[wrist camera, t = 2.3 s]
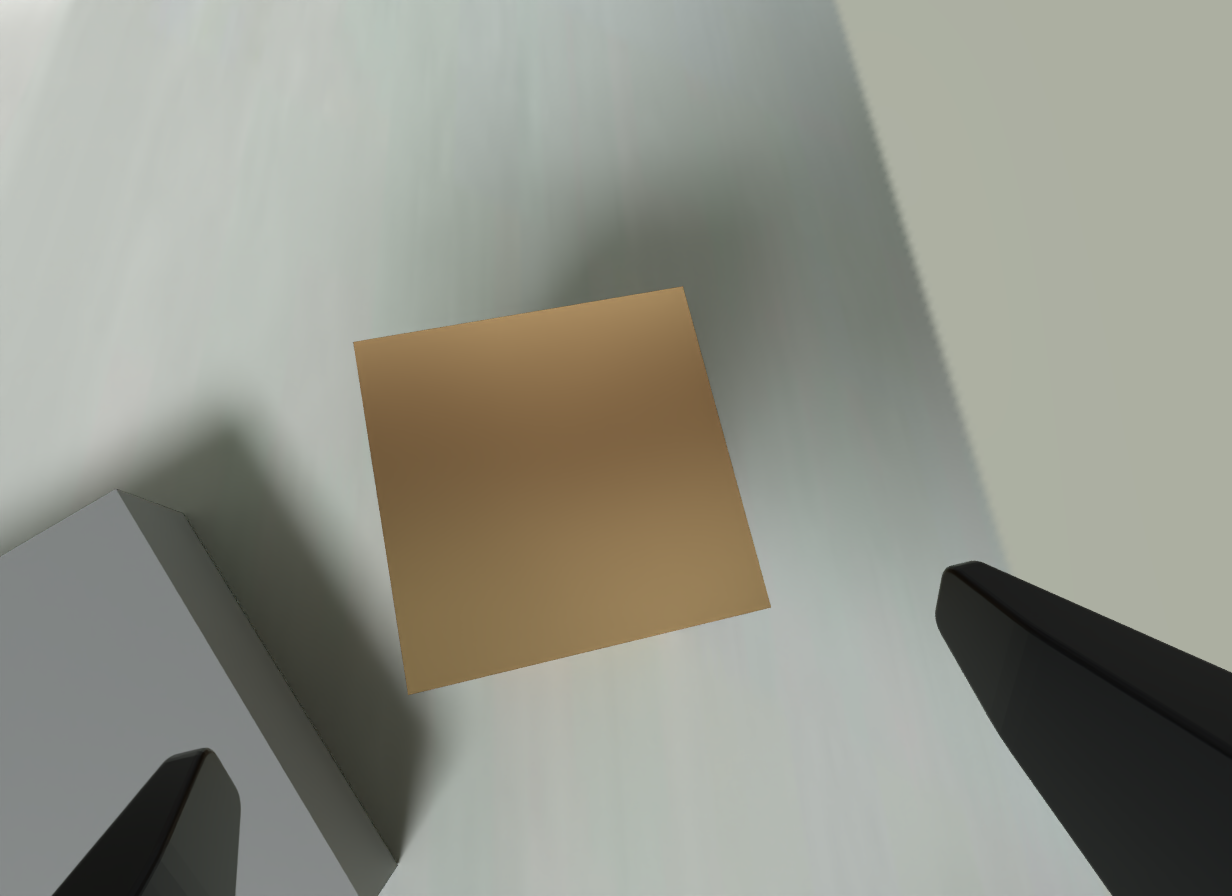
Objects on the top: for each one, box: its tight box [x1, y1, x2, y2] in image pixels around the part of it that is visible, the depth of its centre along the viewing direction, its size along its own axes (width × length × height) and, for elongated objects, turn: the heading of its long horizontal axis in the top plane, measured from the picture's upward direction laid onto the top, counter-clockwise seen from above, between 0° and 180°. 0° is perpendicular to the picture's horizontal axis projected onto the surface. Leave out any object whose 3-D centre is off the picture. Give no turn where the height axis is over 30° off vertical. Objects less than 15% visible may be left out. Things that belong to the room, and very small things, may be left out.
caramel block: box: [353, 286, 771, 695], centre depth 15 cm, size 5×5×9 cm
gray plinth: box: [0, 489, 398, 896], centre depth 15 cm, size 10×10×3 cm
